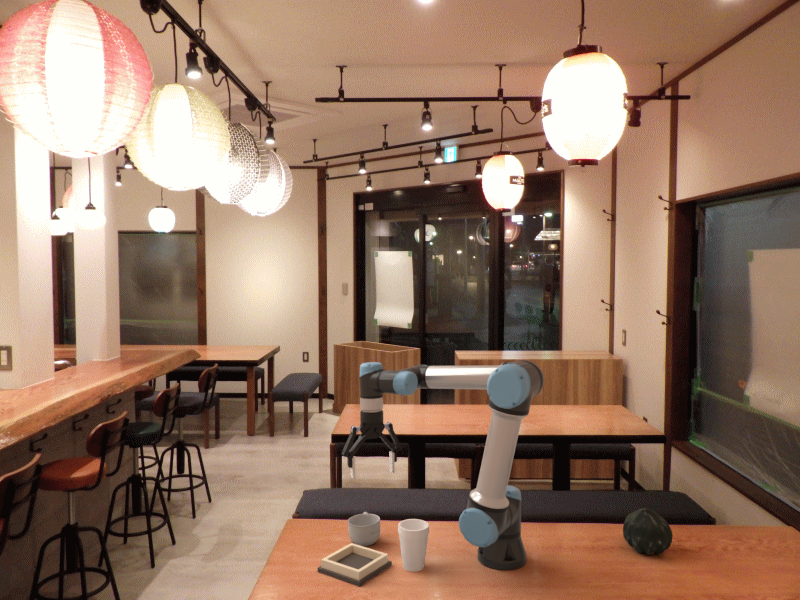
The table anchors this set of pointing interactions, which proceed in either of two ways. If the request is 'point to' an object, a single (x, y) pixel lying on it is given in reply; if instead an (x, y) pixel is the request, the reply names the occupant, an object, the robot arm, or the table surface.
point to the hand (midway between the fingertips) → (372, 474)
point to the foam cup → (413, 543)
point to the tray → (354, 564)
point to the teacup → (364, 529)
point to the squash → (647, 532)
